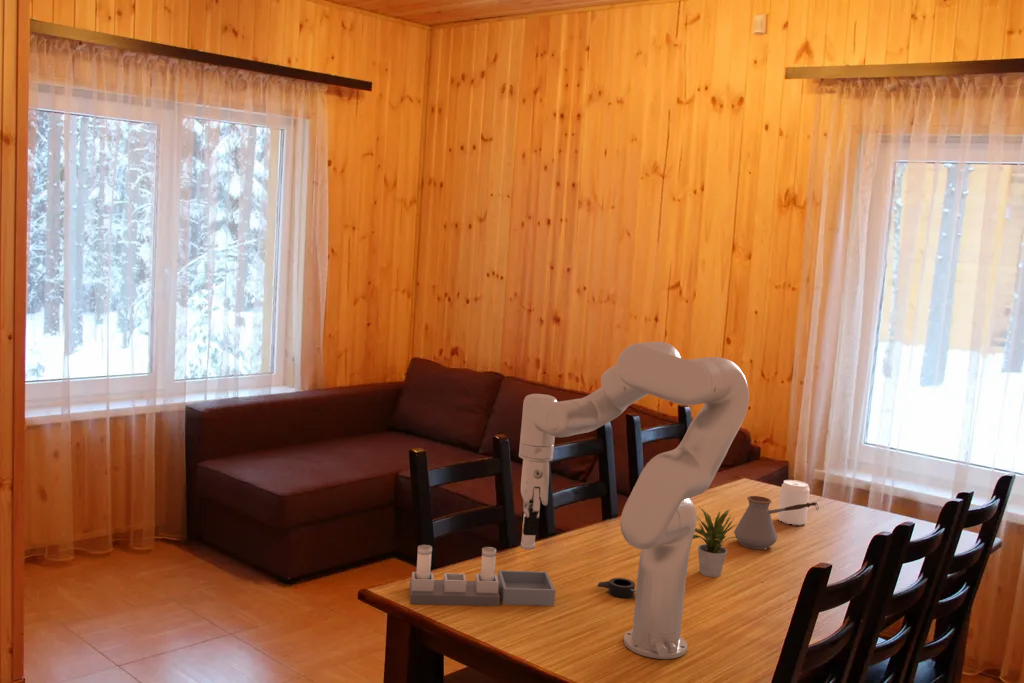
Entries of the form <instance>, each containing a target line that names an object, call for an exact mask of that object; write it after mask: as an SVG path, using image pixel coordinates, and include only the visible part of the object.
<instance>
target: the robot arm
mask: <svg viewBox="0 0 1024 683" xmlns="http://www.w3.org/2000/svg"><path fill="white" fill-rule="evenodd" d="M648 395H651V396H654V397H657V398H660V399H662V400H665V401H668V402H671V403H674V404H678V405H681V406H695V405H696V406H697V405H702V404H703V405H702V407H701V409H700V411H698V413H697V414H696V415H695V417H694V418H693V419H692V421H691V422H690V424H689V426H688V428H687V430H686V432H685V434H684V436H683V438H682V440H681V441H680V442H679V444H678V445H677V447H675V448H674V449H671V450H668V451H664V452H662V453H661V452H660V453H658V454H657V455H655V456H653V457H652V458H650V460H649V461H648V462H647V463H646V464H645V466H644V467H643V468H642V471H641V472H640V474H639V476H638V478H637V480H636V482H635V484H634V486H633V488H632V491H631V492H630V495H629V496H628V498H627V500H626V502H625V504H624V507H623V509H622V512H621V516H620V525H619V526H620V531H621V535H622V536H623V538H624V540H625V542H627V544H629V546H631V547H633V548H635V549H638V550H640V553H639V554H640V555H639V560H638V569H637V579H636V580H637V581H636V589H635V590H636V592H635V600H634V601H635V602H634V612H633V621H632V622H633V623H632V629H630V630H628V631H627V632H626V633H625V634H624V636H623V644H624V646H626V648H628V649H629V650H630V651H631V652H633V653H635V654H637V655H641V656H643V657H647V658H651V659H658V660H671V659H677V658H679V657H682V656H684V655H685V654H686V653H687V652H688V643H687V641H686V640H685V639H684V638H683V637H682V636H681V631H682V621H683V620H682V619H683V612H684V603H685V594H686V585H687V584H686V583H687V575H688V565H689V558H690V551H691V548H692V543H693V540H694V539H693V536H694V535H695V533H696V532H695V528H696V527H697V522H698V521H697V520H698V518H697V517H698V516H697V510H696V507H695V504H694V503H693V501H692V500H691V498H693V497H696V496H699V495H701V494H703V493H705V492H706V491H707V490H708V488H710V487H711V484H712V482H713V481H714V478H715V477H716V474H717V473H718V471H719V469H720V467H721V465H722V463H723V461H724V460H725V458H726V456H727V454H728V451H729V449H730V447H731V445H732V443H733V441H734V440H735V438H736V436H737V434H738V432H739V430H740V429H741V427H742V425H743V422H744V420H745V418H746V416H747V413H748V410H749V409H748V408H749V404H750V390H749V384H748V382H747V379H746V375H745V374H744V373H743V372H742V370H741V368H740V367H739V366H738V365H737V364H736V363H735V362H733V361H732V360H730V359H727V358H724V357H721V356H707V357H700V358H698V357H697V358H691V359H689V358H688V359H687V358H682V357H681V355H680V352H679V351H678V350H677V349H676V347H675V346H673V345H672V344H670V343H668V342H665V341H647V342H636V343H632V344H629V345H628V346H627V347H625V348H624V349H623V350H622V351H621V353H620V354H619V356H618V358H617V362H616V364H615V365H613V366H612V367H609V368H607V369H606V370H605V371H604V372H603V373H602V375H601V378H600V387H599V388H597V389H596V390H595V391H593V392H591V393H589V394H588V395H585V396H584V397H581V398H575V399H567V400H560V401H558V400H557V398H556V397H555V396H552V395H551V394H542V393H531V394H528V395H526V396H525V397H524V400H523V405H522V414H521V416H522V417H521V426H520V427H521V428H520V439H519V448H518V449H519V451H518V457H519V458H520V459H522V467H521V476H520V478H521V479H520V494H521V498H522V500H523V501H522V502H523V503H522V504H523V505H522V511H521V519H520V520H521V521H520V522H521V523H520V529H521V530H522V526H523V518H524V528H523V534H524V535H535V536H538V534H539V527H540V526H539V524H540V511H541V510H540V509H541V503H542V505H543V506H544V507H546V506H547V505H548V502H549V485H550V461H553V459H554V452H555V451H554V449H555V439H556V438H567V437H571V436H575V435H582V434H585V433H590V432H593V431H595V430H597V429H599V428H601V427H603V426H604V425H606V424H608V423H610V422H611V421H613V420H615V419H616V418H618V417H619V416H621V415H622V414H623V413H624V411H626V410H627V408H628V407H629V406H632V404H635V403H636V402H638V401H639V400H641V399H643V398H644V397H647V396H648ZM525 506H527V509H526V517H524V507H525ZM530 507H532V508H530Z"/></svg>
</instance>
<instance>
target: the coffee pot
mask: <svg viewBox="0 0 1024 683" xmlns="http://www.w3.org/2000/svg"><path fill="white" fill-rule="evenodd" d="M747 500H748V507H747V508H746V510H745V511H744V514H743V515H742V517H741V519H740V521H739V522H738V524H737V525H736V527H735V529H734V530H733V533H734V537H738V538H739V539H738V538H736V539H737V541H739V543H740V545H742V546H743V547H746V548H750V549H754V550H766V549H765V548H767V549H769V548H770V547H771V546H774V544H775V543H776V542H777V539H778V535H777V532H776V528H775V525H774V523H773V519H772V516H771V514H778V512H781V511H788V510H796V509H801V508H804V507H808V508H810V507H815V509H816V511H819V508H820V507H819V504H818V502H817V501H816V502H810V503H809V502H808V503H807V504H798V505H794V506H790V507H786V508H781V509H779V508H776V509H769V506H770V505H771V504H772V503H773V502H772V499H770V498H768V497H765V496H759V495H749V496H747ZM768 547H769V548H768Z"/></svg>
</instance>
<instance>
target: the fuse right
mask: <svg viewBox="0 0 1024 683" xmlns="http://www.w3.org/2000/svg"><path fill="white" fill-rule="evenodd" d="M496 556H497V549H496V548H495V547H492V546H484V547H482V548H481V561H480V562H481V563H480V574H481V575H480V581H494V574H495V572H496V571H495V569H496V559H497V558H496Z"/></svg>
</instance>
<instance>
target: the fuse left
mask: <svg viewBox="0 0 1024 683" xmlns="http://www.w3.org/2000/svg"><path fill="white" fill-rule="evenodd" d="M432 553H433V546H432V545H430V544H420V545H418V546H417V558H416V559H417V560H416V571H415V572H416V579H430V572H431V567H432V555H433V554H432Z"/></svg>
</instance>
